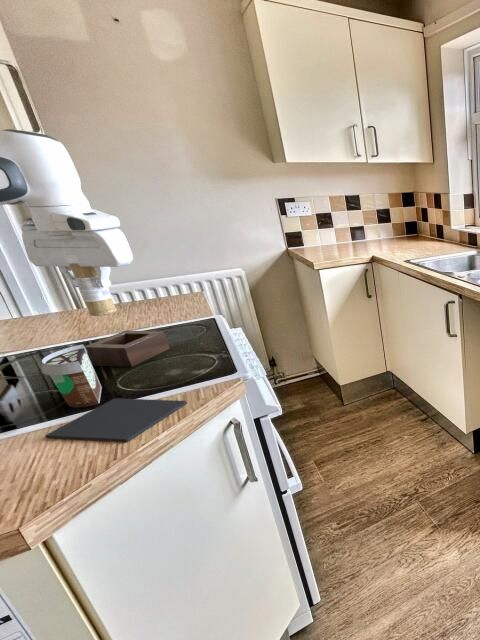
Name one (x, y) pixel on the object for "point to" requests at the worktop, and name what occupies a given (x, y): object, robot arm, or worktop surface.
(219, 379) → the worktop surface
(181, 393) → the worktop surface
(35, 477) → the worktop surface
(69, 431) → the rubber mat
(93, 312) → the sprinkles bottle
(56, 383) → the food container
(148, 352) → the box
